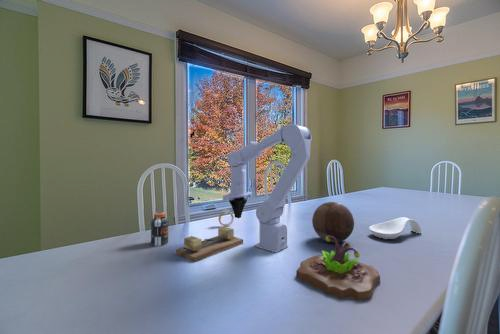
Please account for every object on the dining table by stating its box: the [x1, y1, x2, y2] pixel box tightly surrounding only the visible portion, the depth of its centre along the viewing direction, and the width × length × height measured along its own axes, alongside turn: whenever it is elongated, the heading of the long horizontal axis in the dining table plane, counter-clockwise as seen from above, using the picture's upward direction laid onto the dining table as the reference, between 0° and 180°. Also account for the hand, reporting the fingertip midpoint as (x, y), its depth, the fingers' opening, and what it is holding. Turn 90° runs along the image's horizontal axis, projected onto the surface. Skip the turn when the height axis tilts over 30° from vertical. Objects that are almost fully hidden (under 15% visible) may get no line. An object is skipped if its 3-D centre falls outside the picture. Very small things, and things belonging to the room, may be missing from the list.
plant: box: [295, 236, 381, 301], centre depth 67 cm, size 20×20×11 cm
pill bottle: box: [150, 211, 169, 247], centre depth 92 cm, size 6×6×11 cm
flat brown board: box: [175, 235, 244, 263], centre depth 88 cm, size 10×22×5 cm, turn 140°
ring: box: [218, 208, 235, 227], centre depth 115 cm, size 7×3×8 cm, turn 108°
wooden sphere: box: [311, 201, 355, 243], centre depth 96 cm, size 15×15×15 cm
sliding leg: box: [217, 226, 235, 239], centre depth 93 cm, size 6×3×4 cm, turn 50°
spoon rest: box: [368, 216, 422, 240], centre depth 104 cm, size 24×12×7 cm, turn 111°
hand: (237, 217), depth 98 cm, fingers closed
